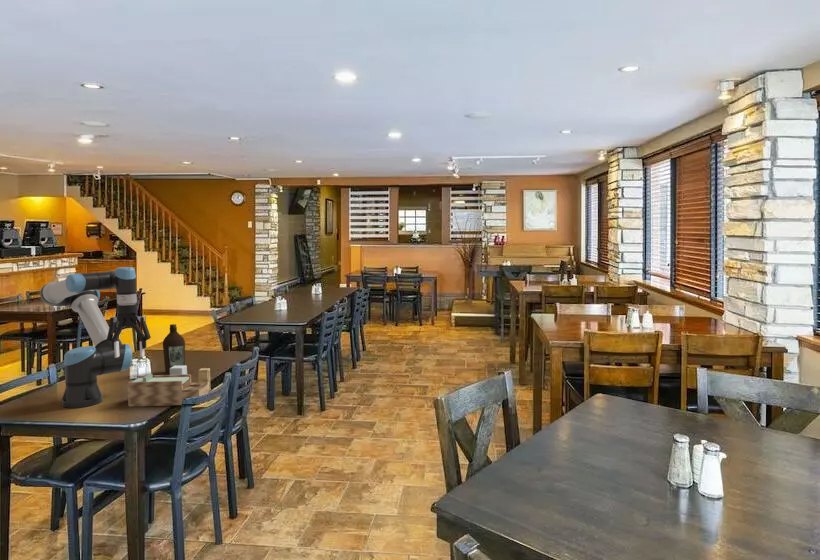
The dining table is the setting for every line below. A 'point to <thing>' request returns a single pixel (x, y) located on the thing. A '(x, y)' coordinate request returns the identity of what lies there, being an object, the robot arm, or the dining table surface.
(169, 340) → the olive oil
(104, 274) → the robot arm
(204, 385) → the toolbox
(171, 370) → the product box
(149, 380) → the lid
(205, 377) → the beige wooden block
